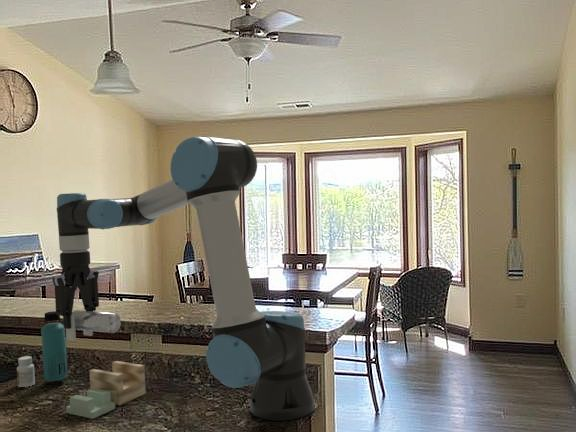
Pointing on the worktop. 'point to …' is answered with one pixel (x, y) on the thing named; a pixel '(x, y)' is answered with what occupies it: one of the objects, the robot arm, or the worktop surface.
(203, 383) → the worktop surface
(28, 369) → the pill bottle
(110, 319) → the axle
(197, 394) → the worktop surface
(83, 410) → the v block
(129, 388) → the wooden bracket
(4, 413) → the worktop surface
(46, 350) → the beverage bottle
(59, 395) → the worktop surface
